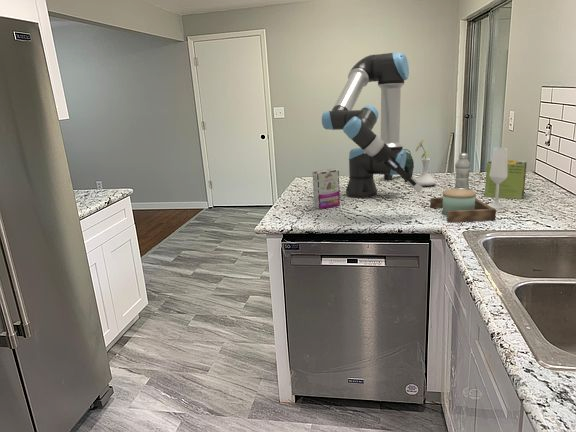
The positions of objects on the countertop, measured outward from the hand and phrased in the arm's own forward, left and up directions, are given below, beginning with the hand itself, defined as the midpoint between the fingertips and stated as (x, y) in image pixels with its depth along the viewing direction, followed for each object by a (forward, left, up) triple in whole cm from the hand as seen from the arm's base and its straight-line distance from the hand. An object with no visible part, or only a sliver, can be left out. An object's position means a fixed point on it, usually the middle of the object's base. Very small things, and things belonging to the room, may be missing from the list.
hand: (420, 189), depth 173 cm
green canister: (+13, +9, -11) cm, 19 cm away
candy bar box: (-41, -3, -11) cm, 43 cm away
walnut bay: (+13, +9, -11) cm, 19 cm away
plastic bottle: (+6, +38, -11) cm, 39 cm away
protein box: (+22, +49, -11) cm, 54 cm away
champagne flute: (+23, +27, -11) cm, 37 cm away
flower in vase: (-18, +57, -11) cm, 60 cm away
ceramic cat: (-38, +70, -11) cm, 80 cm away
